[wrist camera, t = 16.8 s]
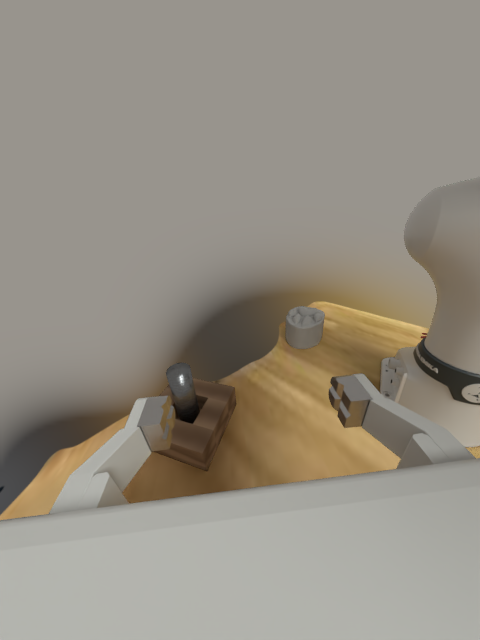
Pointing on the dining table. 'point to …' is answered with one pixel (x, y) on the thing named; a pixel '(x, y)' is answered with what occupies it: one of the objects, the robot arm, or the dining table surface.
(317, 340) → the lumpy-topped squat cylinder
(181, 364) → the dark grey rounded rod
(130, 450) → the robot arm
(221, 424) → the socket block
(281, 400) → the dining table surface
